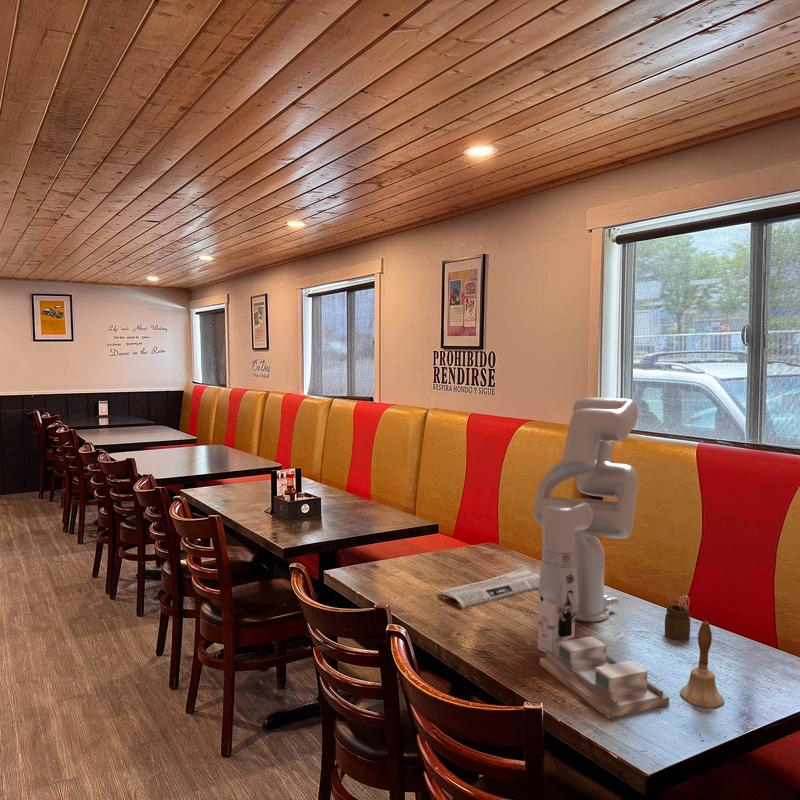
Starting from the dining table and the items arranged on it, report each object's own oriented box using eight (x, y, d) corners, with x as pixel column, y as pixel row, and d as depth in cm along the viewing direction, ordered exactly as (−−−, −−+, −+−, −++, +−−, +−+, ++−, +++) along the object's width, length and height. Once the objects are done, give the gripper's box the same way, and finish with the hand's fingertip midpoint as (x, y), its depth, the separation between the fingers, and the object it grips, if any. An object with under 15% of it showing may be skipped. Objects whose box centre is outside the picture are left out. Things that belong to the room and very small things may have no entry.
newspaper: (461, 611, 183) (461, 598, 183) (435, 597, 193) (435, 585, 193) (551, 587, 202) (551, 576, 202) (522, 576, 213) (522, 565, 213)
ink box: (559, 640, 163) (560, 593, 162) (575, 647, 159) (576, 599, 158) (536, 649, 158) (537, 601, 157) (553, 656, 154) (553, 607, 153)
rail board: (594, 654, 155) (595, 629, 155) (669, 704, 133) (670, 675, 132) (539, 664, 150) (540, 638, 149) (607, 718, 127) (608, 688, 127)
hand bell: (711, 687, 140) (713, 614, 139) (732, 707, 132) (735, 630, 131) (672, 687, 140) (675, 614, 139) (691, 708, 131) (694, 630, 130)
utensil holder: (680, 642, 162) (682, 594, 161) (658, 633, 167) (659, 587, 167) (695, 637, 165) (696, 590, 165) (672, 628, 171) (673, 583, 170)
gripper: (593, 565, 150) (592, 642, 151) (551, 545, 166) (549, 615, 168) (566, 569, 148) (564, 647, 149) (525, 548, 164) (524, 619, 165)
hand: (556, 629), depth 158 cm, fingers closed on ink box, 6 cm apart
